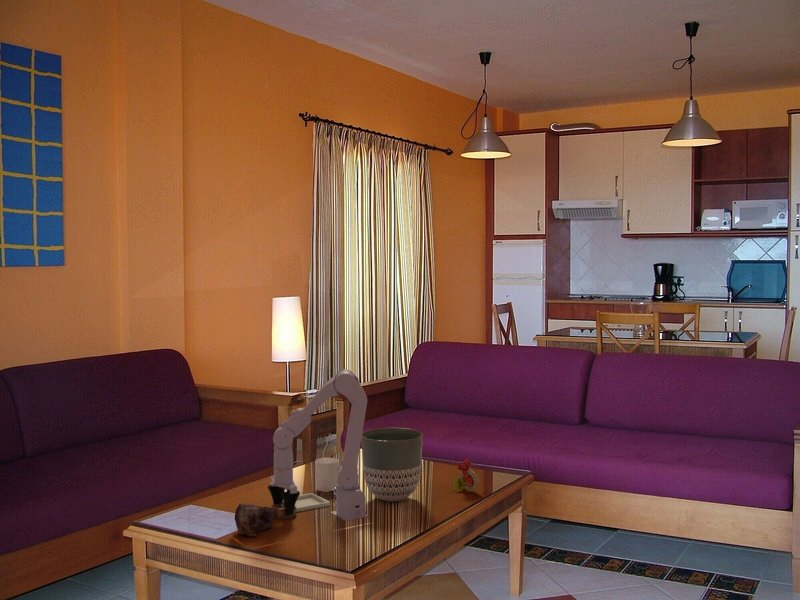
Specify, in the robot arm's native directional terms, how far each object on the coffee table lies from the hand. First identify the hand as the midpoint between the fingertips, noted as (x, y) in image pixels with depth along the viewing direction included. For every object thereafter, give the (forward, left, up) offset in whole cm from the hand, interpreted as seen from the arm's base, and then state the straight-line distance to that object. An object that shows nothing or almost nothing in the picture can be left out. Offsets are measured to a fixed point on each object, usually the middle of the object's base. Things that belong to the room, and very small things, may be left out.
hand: (283, 511), depth 253 cm
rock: (-8, +14, -2) cm, 16 cm away
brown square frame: (0, 0, -1) cm, 1 cm away
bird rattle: (-10, -63, -2) cm, 64 cm away
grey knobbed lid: (0, 0, -2) cm, 2 cm away
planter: (-4, -37, -2) cm, 37 cm away
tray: (+7, -11, -2) cm, 13 cm away
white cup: (+18, -25, -2) cm, 31 cm away
